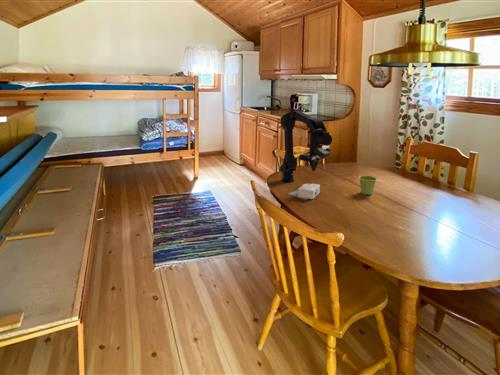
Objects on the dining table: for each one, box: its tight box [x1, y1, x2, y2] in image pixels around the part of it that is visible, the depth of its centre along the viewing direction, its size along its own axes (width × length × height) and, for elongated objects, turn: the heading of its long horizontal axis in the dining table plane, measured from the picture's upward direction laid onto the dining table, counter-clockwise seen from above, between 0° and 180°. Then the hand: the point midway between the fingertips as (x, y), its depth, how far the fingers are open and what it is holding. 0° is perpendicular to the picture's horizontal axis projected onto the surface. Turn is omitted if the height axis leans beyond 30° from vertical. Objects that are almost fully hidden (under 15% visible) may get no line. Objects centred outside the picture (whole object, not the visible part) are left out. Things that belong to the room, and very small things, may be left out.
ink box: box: [297, 182, 321, 200], centre depth 197 cm, size 9×5×12 cm
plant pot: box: [358, 175, 378, 195], centre depth 199 cm, size 9×9×9 cm
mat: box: [287, 189, 319, 201], centre depth 199 cm, size 13×11×1 cm
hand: (313, 170), depth 200 cm, fingers closed
